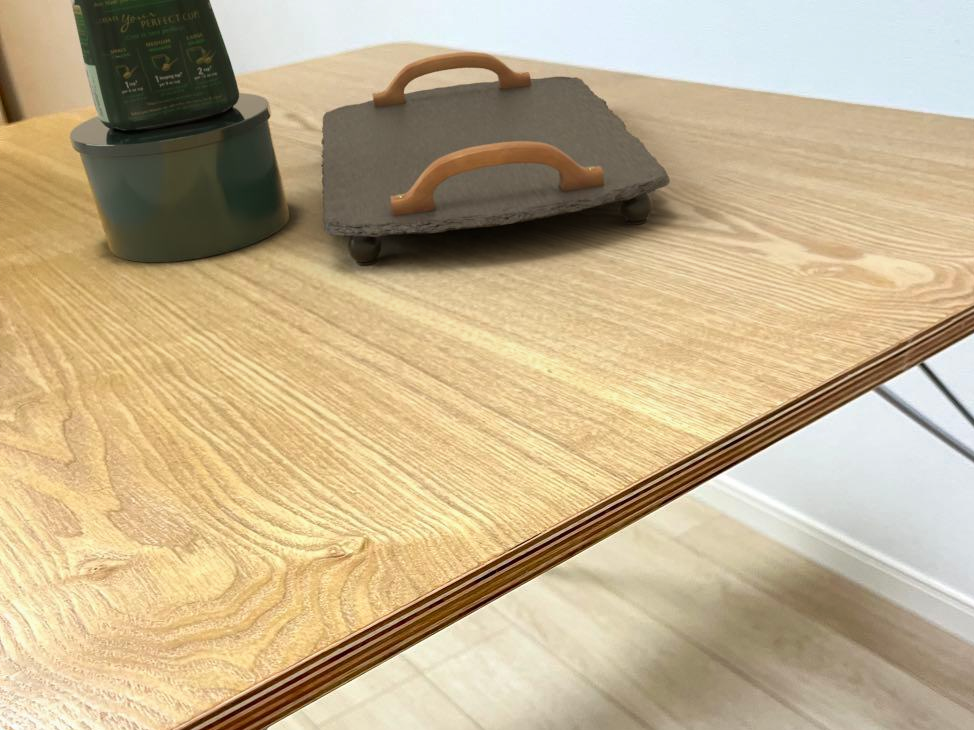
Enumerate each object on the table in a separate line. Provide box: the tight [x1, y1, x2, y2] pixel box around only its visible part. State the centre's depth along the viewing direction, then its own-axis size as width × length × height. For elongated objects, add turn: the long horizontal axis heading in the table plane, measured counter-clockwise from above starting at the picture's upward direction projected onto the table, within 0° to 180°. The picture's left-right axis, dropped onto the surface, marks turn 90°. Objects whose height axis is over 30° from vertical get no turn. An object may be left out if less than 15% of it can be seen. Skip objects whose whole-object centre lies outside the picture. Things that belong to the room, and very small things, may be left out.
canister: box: [69, 92, 290, 263], centre depth 81 cm, size 14×14×8 cm
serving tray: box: [321, 51, 670, 266], centre depth 86 cm, size 39×23×6 cm, turn 9°
